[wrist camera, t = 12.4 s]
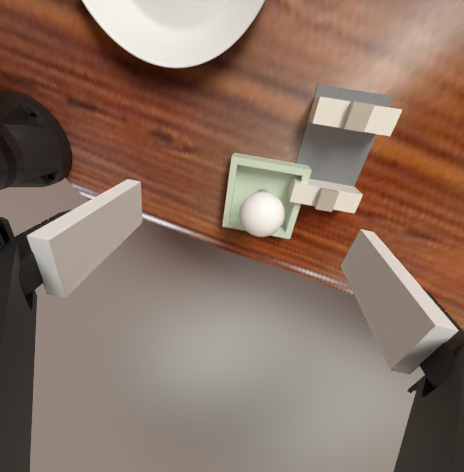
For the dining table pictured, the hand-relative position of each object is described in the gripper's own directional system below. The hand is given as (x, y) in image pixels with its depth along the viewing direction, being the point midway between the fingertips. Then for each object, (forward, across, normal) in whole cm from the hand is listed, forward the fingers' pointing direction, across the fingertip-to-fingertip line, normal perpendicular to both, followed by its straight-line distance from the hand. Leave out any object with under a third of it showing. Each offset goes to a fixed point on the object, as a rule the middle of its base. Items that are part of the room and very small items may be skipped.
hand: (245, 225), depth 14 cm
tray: (+26, +3, -7) cm, 27 cm away
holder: (+26, +12, +2) cm, 28 cm away
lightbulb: (+25, +3, -7) cm, 26 cm away
